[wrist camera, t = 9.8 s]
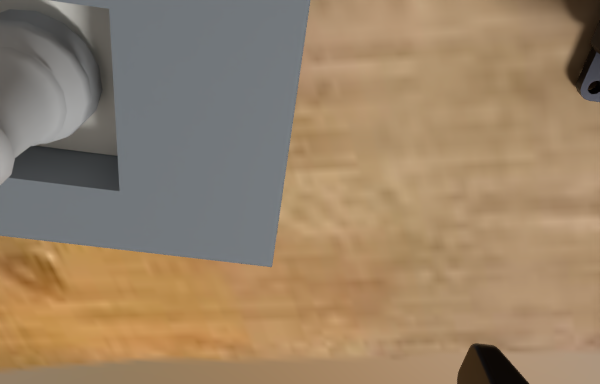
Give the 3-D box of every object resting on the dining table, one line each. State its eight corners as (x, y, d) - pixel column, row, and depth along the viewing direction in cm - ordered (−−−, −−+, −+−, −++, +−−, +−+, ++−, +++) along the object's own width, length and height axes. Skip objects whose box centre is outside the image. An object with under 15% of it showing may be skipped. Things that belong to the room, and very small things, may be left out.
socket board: (318, -79, 17) (319, -64, 15) (275, 227, 24) (272, 267, 22) (-302, -174, 16) (-394, -172, 14) (-163, 174, 23) (-211, 211, 21)
